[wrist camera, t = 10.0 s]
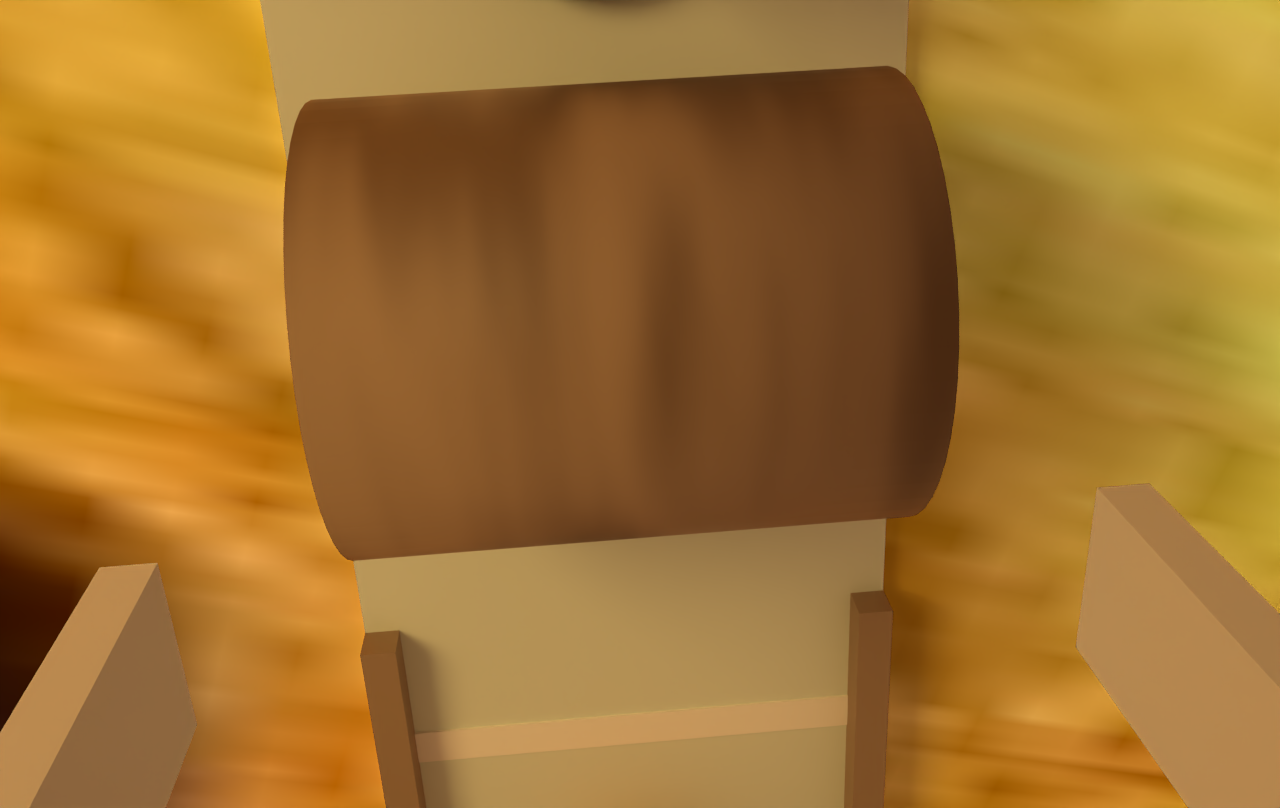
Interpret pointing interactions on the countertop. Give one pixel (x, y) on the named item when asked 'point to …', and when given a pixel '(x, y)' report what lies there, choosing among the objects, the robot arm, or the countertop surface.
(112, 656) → the robot arm
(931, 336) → the log
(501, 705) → the lane
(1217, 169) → the countertop surface
